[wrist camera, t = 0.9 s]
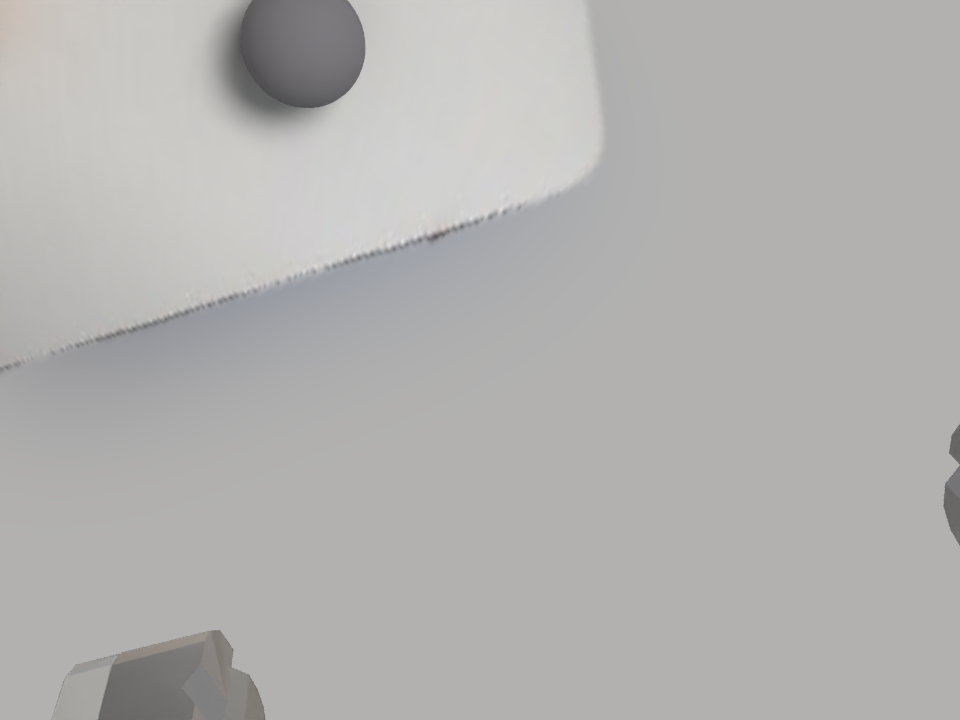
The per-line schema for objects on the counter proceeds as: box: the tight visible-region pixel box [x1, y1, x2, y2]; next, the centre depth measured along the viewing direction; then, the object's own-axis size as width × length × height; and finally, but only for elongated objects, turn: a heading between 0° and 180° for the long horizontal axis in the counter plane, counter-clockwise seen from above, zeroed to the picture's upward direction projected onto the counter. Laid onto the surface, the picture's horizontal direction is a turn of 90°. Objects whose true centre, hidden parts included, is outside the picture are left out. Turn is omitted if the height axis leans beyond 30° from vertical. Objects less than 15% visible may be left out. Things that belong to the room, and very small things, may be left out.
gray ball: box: [241, 0, 365, 108], centre depth 34 cm, size 5×5×5 cm
